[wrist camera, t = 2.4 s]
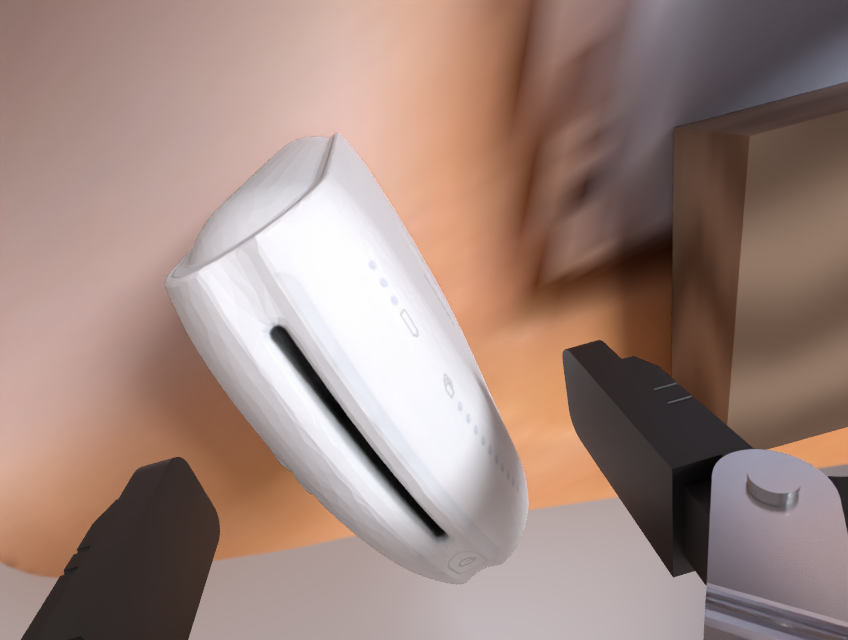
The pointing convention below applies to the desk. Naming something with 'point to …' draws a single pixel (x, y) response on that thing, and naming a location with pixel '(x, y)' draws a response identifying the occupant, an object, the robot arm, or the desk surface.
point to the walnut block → (764, 266)
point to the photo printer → (353, 362)
